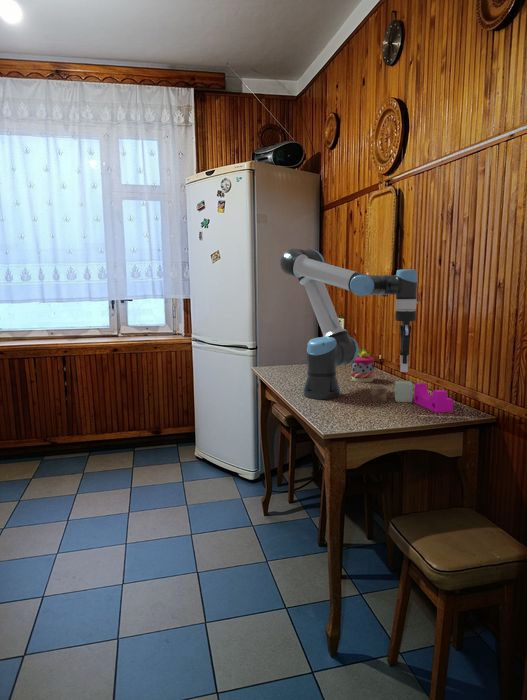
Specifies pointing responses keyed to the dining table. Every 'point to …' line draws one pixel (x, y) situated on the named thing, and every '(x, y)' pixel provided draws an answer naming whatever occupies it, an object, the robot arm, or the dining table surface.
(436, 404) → the toy block
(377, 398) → the walnut block
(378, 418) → the dining table surface
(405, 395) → the sage block
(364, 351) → the cake
